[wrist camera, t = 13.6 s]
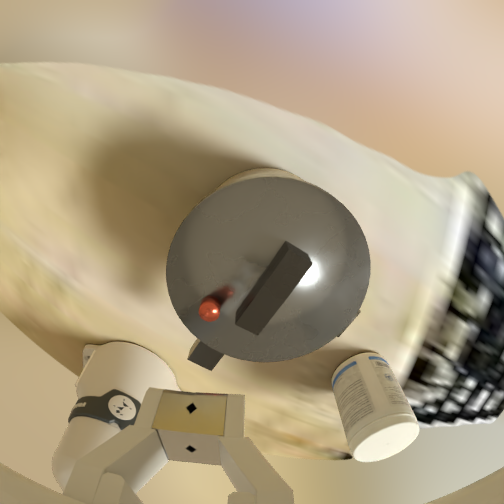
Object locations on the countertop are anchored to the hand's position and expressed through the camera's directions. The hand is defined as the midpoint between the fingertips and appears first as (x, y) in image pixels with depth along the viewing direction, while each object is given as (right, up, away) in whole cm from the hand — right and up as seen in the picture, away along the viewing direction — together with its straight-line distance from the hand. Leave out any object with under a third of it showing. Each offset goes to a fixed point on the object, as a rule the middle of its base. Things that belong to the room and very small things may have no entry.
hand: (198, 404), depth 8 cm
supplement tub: (+19, -14, +34) cm, 42 cm away
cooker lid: (+3, +3, +15) cm, 16 cm away
